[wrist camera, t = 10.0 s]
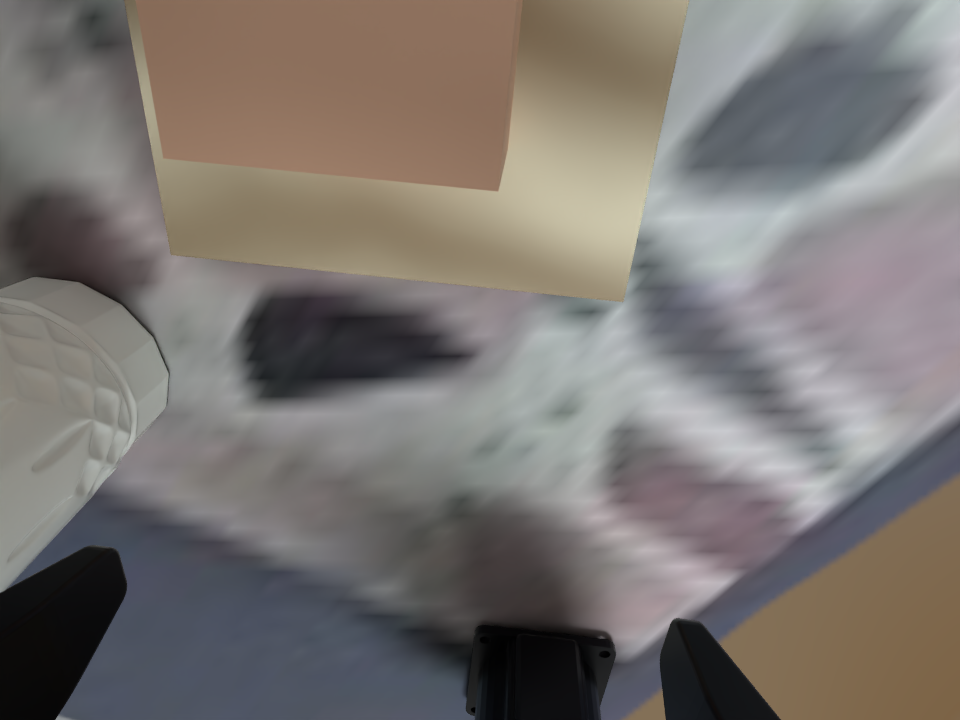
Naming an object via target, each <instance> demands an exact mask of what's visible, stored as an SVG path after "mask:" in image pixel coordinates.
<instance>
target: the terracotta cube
mask: <svg viewBox="0 0 960 720" xmlns="http://www.w3.org/2000/svg"><path fill="white" fill-rule="evenodd" d="M135 1H136V6H137V12H138V18H139V23H140V29H141V35H142V40H143V46H144V52H145V58H146V63H147V69H148V75H149V80H150V86H151V92H152V97H153V103H154V109H155V114H156V120H157V126H158V131H159V137H160V143H161V148H162V154H163V159H172V160H182V161H193V162H203V163H213V164H223V165H233V166H243V167H254V168H264V169H274V170H284V171H294V172H304V173H315V174H325V175H335V176H345V177H355V178H365V179H376V180H386V181H396V182H406V183H416V184H426V185H437V186H447V187H457V188H467V189H477V190H487V191H498V192H499V187H500V183H501V178H502V174H503V169H504V165H505V160H506V156H507V151H508V143H509V133H510V123H511V113H512V103H513V93H514V83H515V73H516V63H517V53H518V43H519V33H520V22H521V12H522V2H523V0H135Z"/></svg>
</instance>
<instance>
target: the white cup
mask: <svg viewBox="0 0 960 720" xmlns="http://www.w3.org/2000/svg"><path fill="white" fill-rule="evenodd" d="M168 380H169V373H168V371H167V368H166V366H165V364H164V361H163V359H162V357H161V354H160V352H159V350H158V347H157V345H156V343H155V340H154V338H153V337H152V336H151V335H150V334H149V333H148V332H147V331H146V329H145V328H144V327H143V326H142V325H141V324H140V323H139V322H138V321H137V320H136V319H135V318H134V317H133V316H132V315H131V314H130V313H129V312H128V311H127V310H126V309H125V308H124V307H123V306H122V305H121V304H120V303H118V302H116V301H114V300H112V299H110V298H108V297H106V296H104V295H103V294H101V293H99V292H97V291H95V290H93V289H91V288H89V287H87V286H86V285H84V284H82V283H80V282H74V281H66V280H57V279H49V278H42V277H32V278H29V279H26V280H23V281H21V282H18V283H15V284H12V285H10V286H7V287H4V288H1V289H0V593H1V592H2V591H4V590H6V589H7V588H8V587H9V586H10V585H11V584H12V583H13V582H14V581H15V580H16V579H17V578H18V576H19V575H20V574H21V573H22V572H23V571H24V570H25V569H26V568H27V567H28V566H29V565H30V564H31V562H32V561H33V560H34V559H35V558H36V557H37V556H38V555H39V554H40V552H41V551H42V550H43V549H44V548H45V547H46V546H47V545H48V544H49V543H50V542H51V541H52V539H53V538H54V537H55V536H56V535H57V534H58V533H59V532H60V531H61V530H62V529H63V528H64V527H65V525H66V524H67V523H68V522H69V521H70V520H71V519H72V518H73V517H74V516H75V515H76V514H77V512H78V511H79V510H80V509H81V508H82V507H83V506H84V505H85V504H86V503H87V502H88V500H89V499H90V498H92V496H93V495H94V494H95V492H96V491H97V490H98V488H99V487H100V486H101V484H102V483H103V482H104V481H105V480H106V479H107V478H108V477H109V476H110V475H111V474H112V473H113V472H114V471H115V469H116V468H117V467H118V466H119V464H120V462H121V459H122V457H123V456H124V455H125V454H126V452H127V451H128V450H129V448H130V447H131V446H132V445H133V444H134V443H135V442H136V441H137V440H138V439H139V438H140V437H141V436H142V435H143V434H144V433H145V432H146V431H147V429H148V428H149V427H150V426H151V425H152V423H153V422H154V421H155V420H156V419H157V418H158V416H159V415H160V414H161V413H162V412H163V410H164V409H165V408H166V405H167V392H168Z"/></svg>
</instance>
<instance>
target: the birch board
mask: <svg viewBox="0 0 960 720" xmlns="http://www.w3.org/2000/svg"><path fill="white" fill-rule="evenodd" d="M124 2H125V7H126V13H127V18H128V24H129V29H130V35H131V40H132V46H133V51H134V56H135V62H136V67H137V73H138V78H139V84H140V89H141V95H142V100H143V105H144V111H145V116H146V122H147V127H148V133H149V138H150V144H151V149H152V154H153V160H154V165H155V171H156V176H157V182H158V187H159V193H160V198H161V203H162V209H163V214H164V220H165V225H166V231H167V236H168V242H169V247H170V252H171V255H176V256H185V257H195V258H205V259H214V260H224V261H234V262H243V263H253V264H263V265H272V266H282V267H291V268H301V269H311V270H320V271H330V272H340V273H349V274H359V275H369V276H378V277H388V278H397V279H407V280H417V281H426V282H436V283H446V284H455V285H465V286H475V287H484V288H494V289H503V290H513V291H523V292H532V293H542V294H552V295H561V296H571V297H581V298H590V299H600V300H609V301H619V302H623V301H624V296H625V292H626V287H627V283H628V278H629V274H630V269H631V264H632V260H633V255H634V251H635V246H636V242H637V237H638V232H639V228H640V223H641V219H642V214H643V210H644V205H645V200H646V196H647V191H648V187H649V182H650V177H651V173H652V168H653V164H654V159H655V155H656V150H657V145H658V141H659V136H660V132H661V127H662V123H663V118H664V113H665V109H666V104H667V100H668V95H669V91H670V86H671V81H672V77H673V72H674V68H675V63H676V58H677V54H678V49H679V45H680V40H681V36H682V31H683V26H684V22H685V17H686V13H687V8H688V4H689V0H523V2H522V12H521V22H520V33H519V43H518V53H517V63H516V73H515V83H514V93H513V103H512V113H511V123H510V133H509V143H508V151H507V156H506V160H505V165H504V169H503V174H502V178H501V183H500V187H499V192H498V191H487V190H477V189H467V188H457V187H447V186H437V185H426V184H416V183H406V182H396V181H386V180H376V179H365V178H355V177H345V176H335V175H325V174H315V173H304V172H294V171H284V170H274V169H264V168H254V167H243V166H233V165H223V164H213V163H203V162H193V161H182V160H172V159H163V154H162V148H161V143H160V137H159V131H158V126H157V120H156V114H155V109H154V103H153V97H152V92H151V86H150V80H149V75H148V69H147V63H146V58H145V52H144V46H143V40H142V35H141V29H140V23H139V18H138V12H137V6H136V1H135V0H124Z"/></svg>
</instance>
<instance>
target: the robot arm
mask: <svg viewBox="0 0 960 720" xmlns="http://www.w3.org/2000/svg"><path fill="white" fill-rule="evenodd" d="M126 590H127V580H126V576H125V573H124V569H123V566H122V562H121V558H120V555H119V552H118V551H117V550H116V549H115V548H112V547H105V546H97V545H91V546H87V547H84V548H82V549H80V550H78V551H77V552H75V553H73V554H71V555H69V556H67V557H65V558H64V559H62V560H60V561H58V562H56V563H54V564H52V565H51V566H49V567H47V568H45V569H43V570H41V571H40V572H38V573H36V574H34V575H32V576H30V577H28V578H27V579H25V580H23V581H21V582H19V583H17V584H15V585H14V586H12V587H10V588H8V589H6V590H4V591H2V592H1V593H0V720H55V719H56V718H57V716H58V715H59V713H60V712H61V710H62V709H63V707H64V705H65V704H66V702H67V701H68V699H69V698H70V696H71V694H72V693H73V691H74V689H75V688H76V686H77V684H78V682H79V681H80V679H81V677H82V675H83V673H84V672H85V670H86V668H87V666H88V664H89V662H90V660H91V659H92V657H93V655H94V653H95V651H96V649H97V648H98V646H99V644H100V642H101V640H102V638H103V636H104V635H105V633H106V631H107V629H108V627H109V625H110V623H111V622H112V620H113V618H114V616H115V614H116V612H117V611H118V609H119V607H120V605H121V603H122V601H123V599H124V597H125V594H126ZM615 656H616V652H615V645H614V643H613V642H611V641H610V640H606V639H598V638H590V637H582V636H573V635H565V634H556V633H548V632H540V631H531V630H523V629H515V628H506V627H498V626H490V625H481V626H478V627H477V628H476V630H475V635H474V643H473V652H472V660H471V668H470V677H469V685H468V693H467V702H466V711H467V713H468V714H470V715H473V716H475V720H601V714H600V705H601V701H602V698H603V695H604V692H605V689H606V685H607V682H608V679H609V676H610V673H611V669H612V666H613V663H614V660H615ZM660 672H661V680H662V689H663V698H664V707H665V716H666V720H781V719H780V718H779V717H778V716H777V714H776V713H775V712H774V711H773V710H772V708H771V707H770V706H769V705H768V703H767V702H766V701H765V700H764V699H763V697H762V696H761V695H760V694H759V692H758V691H757V690H756V689H755V687H754V686H753V685H752V684H751V682H750V681H749V680H748V679H747V678H746V676H745V675H744V674H743V673H742V672H741V670H740V669H739V668H738V667H737V665H736V664H735V663H734V662H733V660H732V659H731V658H730V657H729V655H728V654H727V653H726V652H725V651H724V649H723V648H722V647H721V646H720V644H719V643H718V642H717V641H716V640H715V638H714V637H713V636H712V635H711V633H710V632H709V631H708V630H707V628H706V627H705V626H704V625H703V624H702V623H700V622H699V621H695V620H688V619H680V618H676V619H674V620H673V621H672V622H671V624H670V627H669V630H668V632H667V635H666V638H665V641H664V644H663V647H662V650H661V654H660Z"/></svg>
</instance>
